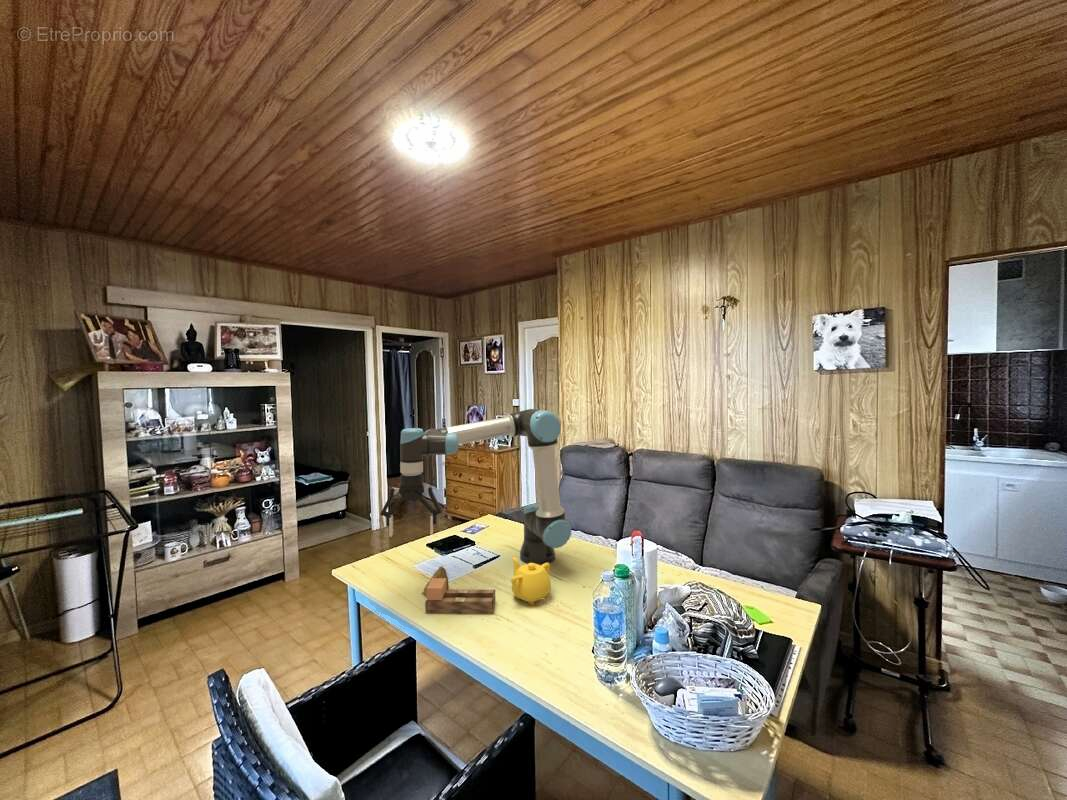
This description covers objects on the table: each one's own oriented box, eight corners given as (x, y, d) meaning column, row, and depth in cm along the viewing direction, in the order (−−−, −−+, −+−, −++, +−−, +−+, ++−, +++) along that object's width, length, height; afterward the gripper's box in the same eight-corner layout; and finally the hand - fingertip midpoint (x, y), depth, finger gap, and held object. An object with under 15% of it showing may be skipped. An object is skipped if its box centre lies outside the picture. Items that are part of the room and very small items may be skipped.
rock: (457, 595, 143) (454, 583, 153) (445, 574, 142) (442, 564, 152) (428, 614, 140) (426, 601, 150) (416, 593, 139) (415, 581, 149)
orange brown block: (446, 597, 143) (446, 578, 143) (442, 608, 136) (441, 588, 136) (431, 597, 143) (431, 578, 143) (426, 608, 136) (426, 588, 136)
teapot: (549, 586, 154) (549, 554, 154) (551, 607, 140) (552, 572, 139) (511, 586, 154) (511, 555, 153) (510, 607, 140) (510, 572, 139)
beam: (495, 600, 144) (495, 588, 144) (493, 614, 135) (493, 601, 135) (431, 600, 144) (431, 588, 144) (425, 614, 135) (425, 601, 135)
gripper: (449, 470, 149) (448, 529, 150) (376, 471, 145) (376, 532, 146) (448, 474, 142) (447, 536, 143) (371, 476, 138) (371, 540, 139)
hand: (411, 534), depth 144 cm, fingers open, 13 cm apart
